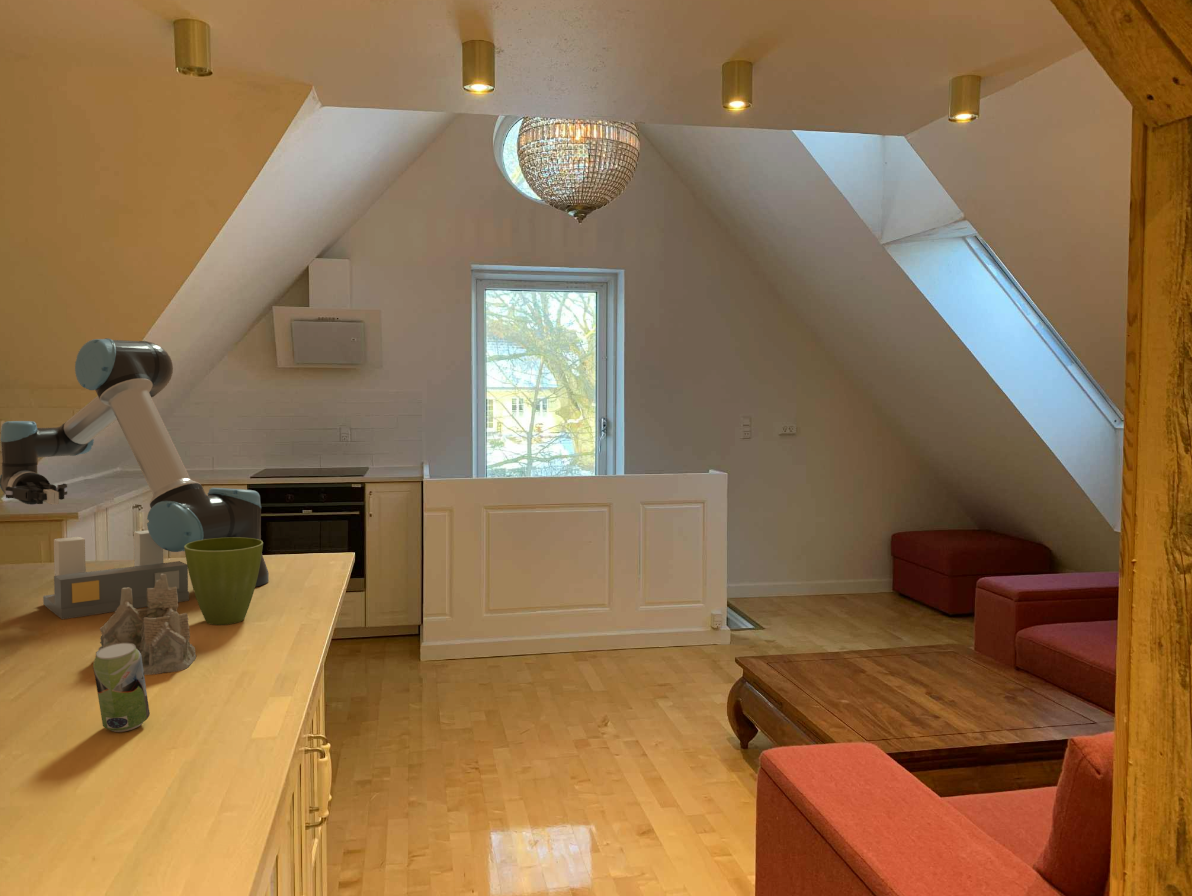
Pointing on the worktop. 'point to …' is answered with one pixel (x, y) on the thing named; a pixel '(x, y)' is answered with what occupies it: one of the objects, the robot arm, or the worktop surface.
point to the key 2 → (146, 549)
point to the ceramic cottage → (152, 629)
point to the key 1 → (69, 556)
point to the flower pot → (224, 576)
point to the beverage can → (121, 687)
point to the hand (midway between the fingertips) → (54, 498)
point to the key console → (112, 588)
